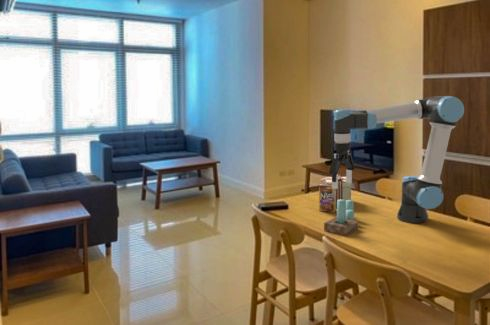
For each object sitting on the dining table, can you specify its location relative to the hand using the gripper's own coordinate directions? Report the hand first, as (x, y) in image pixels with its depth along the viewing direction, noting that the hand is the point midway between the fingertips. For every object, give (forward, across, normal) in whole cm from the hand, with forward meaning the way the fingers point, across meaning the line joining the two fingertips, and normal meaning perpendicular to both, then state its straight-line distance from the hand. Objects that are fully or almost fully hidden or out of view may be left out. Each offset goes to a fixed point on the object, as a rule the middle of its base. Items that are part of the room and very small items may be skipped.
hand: (342, 185), depth 202 cm
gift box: (+23, -40, -27) cm, 53 cm away
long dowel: (+22, 0, 0) cm, 22 cm away
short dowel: (+22, -11, -1) cm, 25 cm away
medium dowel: (+22, -18, -5) cm, 29 cm away
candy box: (+23, -24, -22) cm, 40 cm away
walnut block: (+22, 0, 0) cm, 22 cm away
